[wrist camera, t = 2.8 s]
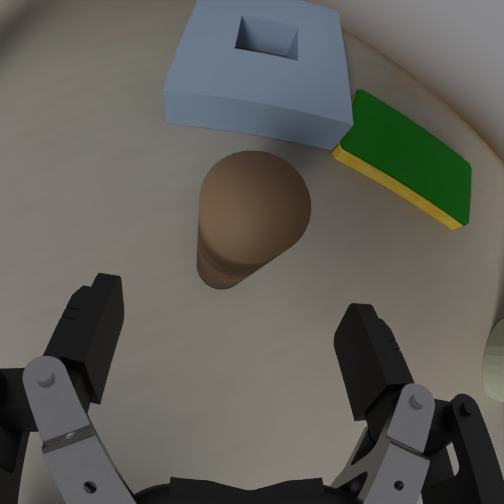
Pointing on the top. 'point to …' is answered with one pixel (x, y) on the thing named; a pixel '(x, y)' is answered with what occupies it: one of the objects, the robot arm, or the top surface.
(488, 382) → the reusable coffee cup
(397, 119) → the dish sponge
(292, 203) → the walnut peg
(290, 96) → the hole block
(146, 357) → the top surface
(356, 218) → the top surface
